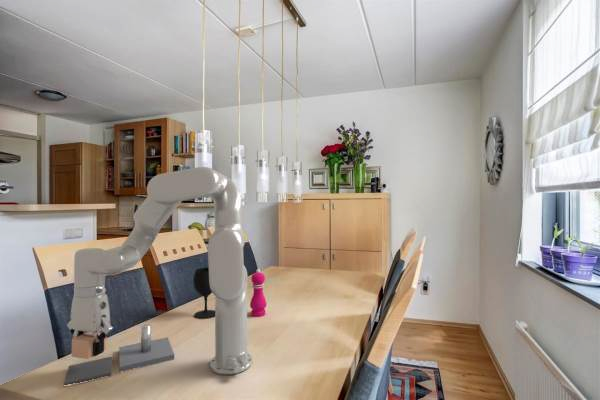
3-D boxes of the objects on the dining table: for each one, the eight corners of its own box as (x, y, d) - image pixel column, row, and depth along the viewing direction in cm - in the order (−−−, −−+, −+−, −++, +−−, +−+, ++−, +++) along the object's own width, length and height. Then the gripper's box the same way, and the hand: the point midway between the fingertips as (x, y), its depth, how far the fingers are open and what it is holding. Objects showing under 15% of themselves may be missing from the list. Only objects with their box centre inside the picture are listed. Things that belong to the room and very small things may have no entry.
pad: (111, 375, 90) (111, 372, 90) (63, 387, 84) (63, 383, 84) (111, 359, 99) (111, 356, 99) (69, 369, 94) (69, 365, 94)
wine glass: (209, 309, 146) (208, 266, 147) (222, 314, 140) (222, 269, 140) (188, 315, 138) (188, 270, 139) (202, 320, 132) (202, 273, 132)
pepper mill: (263, 317, 135) (263, 271, 135) (247, 316, 136) (247, 270, 136) (268, 312, 142) (268, 267, 142) (253, 311, 143) (253, 267, 143)
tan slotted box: (106, 349, 94) (106, 332, 94) (88, 359, 88) (88, 340, 88) (90, 347, 95) (90, 330, 95) (71, 356, 90) (71, 338, 90)
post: (151, 351, 101) (151, 326, 101) (141, 353, 100) (141, 328, 100) (150, 347, 104) (150, 323, 104) (140, 349, 102) (140, 325, 102)
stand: (174, 359, 99) (174, 354, 99) (119, 372, 92) (119, 367, 92) (167, 341, 112) (167, 337, 112) (119, 351, 104) (119, 347, 105)
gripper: (124, 289, 93) (123, 350, 93) (78, 285, 98) (78, 344, 98) (102, 296, 86) (102, 362, 86) (54, 292, 90) (53, 355, 90)
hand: (89, 352), depth 92 cm, fingers closed on tan slotted box, 5 cm apart
